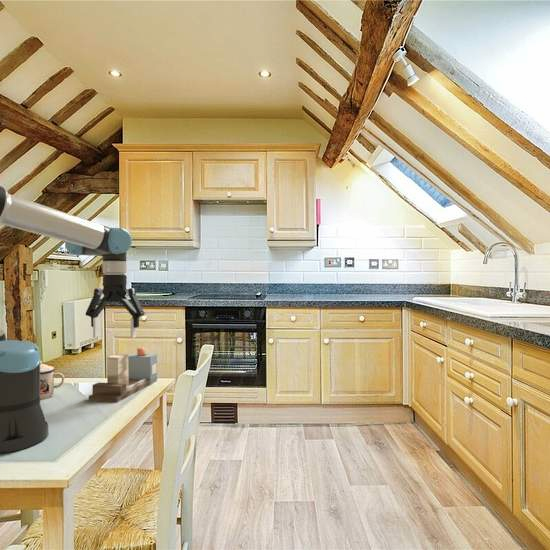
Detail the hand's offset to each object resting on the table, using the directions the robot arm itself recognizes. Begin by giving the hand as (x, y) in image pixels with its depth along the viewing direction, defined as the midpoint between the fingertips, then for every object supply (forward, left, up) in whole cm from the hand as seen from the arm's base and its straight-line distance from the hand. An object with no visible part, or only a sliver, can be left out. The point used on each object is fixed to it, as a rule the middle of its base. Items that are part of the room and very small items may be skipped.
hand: (115, 337), depth 136 cm
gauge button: (+14, -1, -10) cm, 18 cm away
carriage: (-1, -1, -17) cm, 17 cm away
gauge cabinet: (+14, -1, -19) cm, 24 cm away
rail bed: (+4, -1, -19) cm, 19 cm away
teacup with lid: (-7, +22, -19) cm, 30 cm away
